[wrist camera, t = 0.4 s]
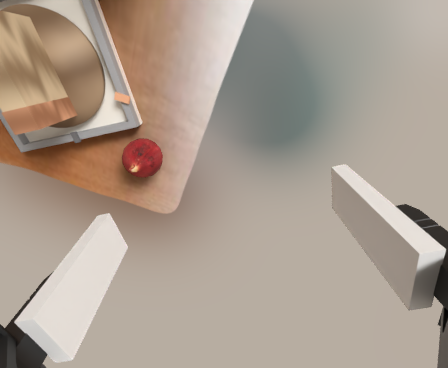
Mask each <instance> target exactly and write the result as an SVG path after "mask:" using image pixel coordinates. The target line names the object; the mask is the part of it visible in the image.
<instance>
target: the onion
mask: <svg viewBox="0 0 448 368" xmlns="http://www.w3.org/2000/svg"><path fill="white" fill-rule="evenodd" d="M162 158H163V155H162V152H161V149H160V148H159V147H158V145H157V144H156V143H155V142H153V141H151V140H149V139H137V140H134V141H132V142H130V143H129V144H128V145H127V146H126V147H125V149H124V152H123V155H122V161H123V165H124V167H125V168H126V170H127V171H128V172H129V173H131V174H132V175H134V176H137V177H148V176H152V175H154V174H155V173H156V172H157V171H158V170H159V169H160V167H161V164H162Z"/></svg>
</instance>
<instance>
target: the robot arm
mask: <svg viewBox="0 0 448 368" xmlns="http://www.w3.org/2000/svg"><path fill="white" fill-rule="evenodd" d="M331 174H332V208H333V209H334V211H335V212H336V214H337V215H338V216H339V218H340V219H341V220H342V222H343V223H344V224H345V226H346V227H347V228H348V230H349V231H350V232H351V234H352V235H353V236H354V238H355V239H356V240H357V242H358V243H359V245H360V246H361V247H362V249H363V250H364V251H365V253H366V254H367V255H368V257H369V258H370V259H371V261H372V262H373V263H374V265H375V266H376V267H377V269H378V270H379V271H380V273H381V274H382V275H383V277H384V278H385V279H386V281H387V282H388V283H389V285H390V286H391V287H392V289H393V290H394V291H395V293H396V294H397V295H398V297H399V298H400V299H401V301H402V302H403V303H404V305H405V306H406V307H407V309H408V310H414V309H421V308H428V307H431V306H432V302H433V298H434V296H435V297H436V298H437V299H438V300H439V302H440V303H441V304H442V305H443V309H442V313H441V316H440V320H439V323H438V325H439V326H441V328H440V342H439V355H438V367H437V368H448V231H447V230H445V229H444V228H443V227H441V226H438V224H437V223H436V222H435V221H433V220H432V219H430V218H429V217H428V216H427V215H426V214H424V213H423V212H422V211H420V210H419V209H416V208H414V207H411V206H409V205H407V204H404V205H399V206H394V205H393V204H392V203H391V202H390V201H388V200H387V199H386V198H385V197H384V196H382V195H381V194H380V193H379V192H378V191H377V190H375V189H374V188H373V187H372V186H370V185H369V184H368V183H367V182H366V181H365V180H364V179H362V178H361V177H360V176H359V175H358V174H356V173H355V172H354V171H353V170H352V169H351V168H349V167H348V166H347V165H345V164H344V165H339V166H335V167H331ZM127 248H128V246H127V245H126V243H125V241H124V239H123V238H122V235H121V233H120V232H119V230H118V228H117V226H116V224H115V223H114V221H113V219H112V217H111V215H110V214H109V213H108V214H103V215H99V216H97V217H96V218H95V220H94V221H93V222H92V224H91V225H90V226H89V227H88V229H87V230H86V231H85V233H84V234H83V235H82V236H81V238H80V239H79V240H78V241H77V243H76V244H75V245H74V247H73V248H72V249H71V250H70V252H69V253H68V254H67V256H66V257H65V258H64V259H63V261H62V262H61V263H60V264H59V266H58V267H57V268H56V269H55V271H53V272H52V273H51V274H50V275H49V276H48V277H47V278H46V279H44V281H43V282H42V283H41V284H40V285H39V286H38V288H37V289H36V291H35V292H34V293H33V294H32V295H31V296H30V299H29V300H28V301H26V303H25V304H24V305H23V306H22V308H21V309H20V310H19V312H18V313H17V314H16V315H15V316H14V318H13V319H12V320H11V322H10V323H9V324H8V325H7V327H6V328H4V327H3V326H2V325H0V368H46V367H45V366H44V365H43V364H42V363H43V361H44V360H45V358H46V356H47V355H48V356H49V357H50V358H51V359H52V360H53V361H54V362H55V363H57V362H64V361H71V360H73V358H74V356H75V354H76V352H77V350H78V348H79V346H80V344H81V342H82V340H83V338H84V336H85V334H86V332H87V330H88V328H89V326H90V324H91V322H92V319H93V318H94V316H95V313H96V311H97V309H98V307H99V305H100V303H101V301H102V299H103V297H104V295H105V293H106V291H107V289H108V287H109V285H110V283H111V281H112V279H113V277H114V275H115V273H116V271H117V269H118V267H119V265H120V263H121V260H122V258H123V256H124V254H125V252H126V251H127Z"/></svg>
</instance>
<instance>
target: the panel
mask: <svg viewBox="0 0 448 368" xmlns="http://www.w3.org/2000/svg"><path fill="white" fill-rule="evenodd" d="M16 4H31V5H37V6H40V7H44V8H47V9H50V10H53V11H55V12H57V13H59V14H61V15H63V16H64V17H66V18H67V19H69V20H70V21H71V22H73V23H74V24H75V25H76V26H77V27H78V28H79V29H80V30H81V31H82V32H83V33H84V34H85V35H86V36H87V38H88V39H89V40H90V42H91V43H92V45H93V46H94V48H95V50H96V51H97V53H98V56H99V58H100V60H101V63H102V66H103V70H104V75H105V94H104V99H103V102H102V104H101V106H100V108H99V110H98V111H97V112H96V114H95V115H94V116H93V117H92V118H90V119H89V120H87V121H86V122H84V123H82V124H79V125H77V126H74V127H68V128H55V127H49V126H48V127H45V128H43V129H40V130H35V131H31V132H26V133H22V134H18V135H15V134H14V132H13V131H12V129H11V128H10V126H9V124H8V123H7V121H6V120H5V118H4V116H3V115H2V110H1V109H0V119H1V121H2V122H3V124H4V126H5V127H6V129H7V130H8V132H9V134H10V135H11V137H12V138H13V140H14V142H15V143H16V145H17V146H18V148H19V150H20V151H21V152H26V151H30V150H35V149H39V148H44V147H48V146H53V145H58V144H62V143H67V142H71V141H74V142H75V143H78V142H81V139H85V138H89V137H94V136H99V135H103V134H108V133H112V132H117V131H121V130H126V129H130V128H135V127H138V126H139V125H141V124H142V120H141V117H140V114H139V112H138V109H137V106H136V103H135V101H134V98H133V95H132V92H131V90H130V87H129V84H128V81H127V79H126V76H125V73H124V70H123V68H122V65H121V62H120V59H119V57H118V54H117V51H116V48H115V46H114V43H113V40H112V37H111V35H110V32H109V29H108V26H107V23H106V21H105V18H104V15H103V12H102V10H101V7H100V4H99V1H98V0H0V10H2V9H4V8H6V7H8V6H11V5H16Z"/></svg>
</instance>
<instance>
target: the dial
mask: <svg viewBox="0 0 448 368" xmlns="http://www.w3.org/2000/svg"><path fill="white" fill-rule="evenodd" d="M104 94H105V75H104V70H103V66H102V63H101V60H100V58H99V56H98V53H97V51H96V50H95V48H94V46H93V45H92V43H91V42H90V40H89V39H88V38H87V36H86V35H85V34H84V33H83V32H82V31H81V30H80V29H79V28H78V27H77V26H76V25H75V24H74V23H73V22H71V21H70V20H69V19H67V18H66V17H64V16H63V15H61V14H59V13H57V12H55V11H53V10H50V9H47V8H44V7H40V6H37V5H31V4H16V5H11V6H8V7H6V8H4V9H2V10H0V109H1V110H2V115H3V116H4V118H5V120H6V121H7V123H8V124H9V126H10V128H11V129H12V131H13V132H14V134H15V135H18V134H22V133H26V132H31V131H35V130H40V129H43V128H45V127H48V126H49V127H55V128H68V127H74V126H77V125H79V124H82V123H84V122H86V121H87V120H89V119H90V118H92V117H93V116H94V115H95V114H96V112H97V111H98V110H99V108H100V106H101V104H102V102H103V99H104Z"/></svg>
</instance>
